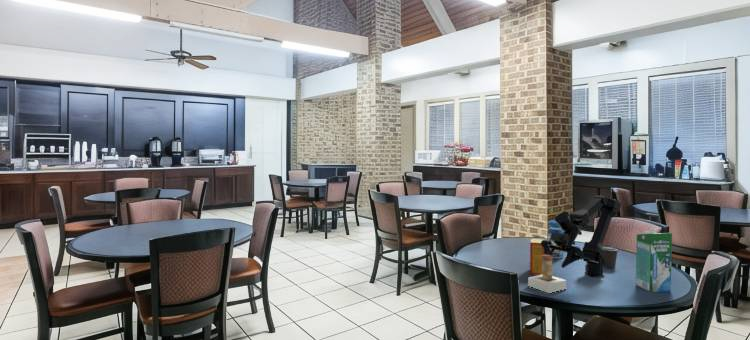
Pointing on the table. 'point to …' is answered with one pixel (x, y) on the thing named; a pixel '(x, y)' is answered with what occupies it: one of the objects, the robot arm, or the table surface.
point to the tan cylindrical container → (547, 267)
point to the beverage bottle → (555, 229)
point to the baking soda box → (536, 256)
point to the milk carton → (654, 261)
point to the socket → (547, 284)
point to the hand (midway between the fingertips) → (552, 264)
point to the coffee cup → (610, 256)
